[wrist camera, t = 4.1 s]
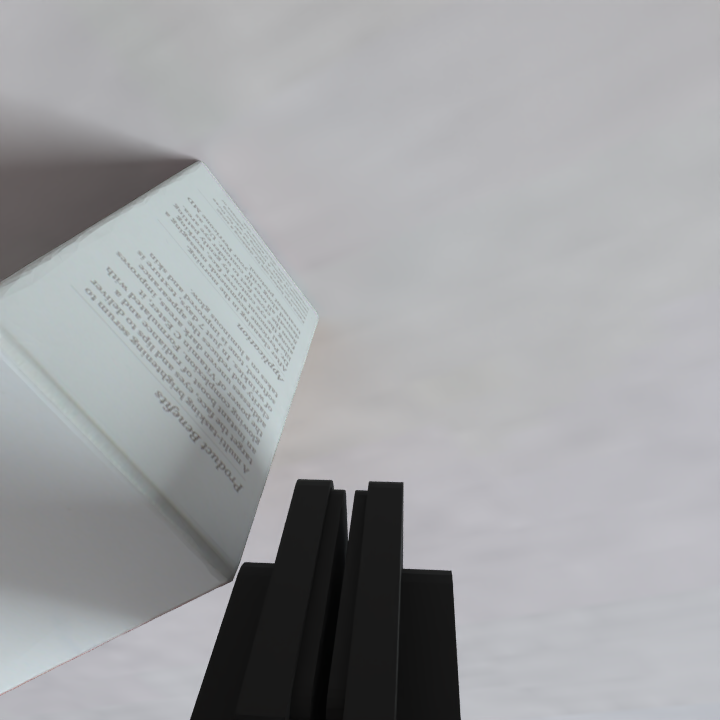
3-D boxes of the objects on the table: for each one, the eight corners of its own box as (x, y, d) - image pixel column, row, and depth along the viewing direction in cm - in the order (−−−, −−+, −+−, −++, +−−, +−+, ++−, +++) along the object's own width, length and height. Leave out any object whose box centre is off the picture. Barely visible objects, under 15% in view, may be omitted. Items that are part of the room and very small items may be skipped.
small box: (132, 435, 22) (-80, 744, 13) (7, 303, 20) (-352, 551, 11) (328, 316, 19) (243, 592, 10) (205, 151, 18) (-40, 304, 8)
